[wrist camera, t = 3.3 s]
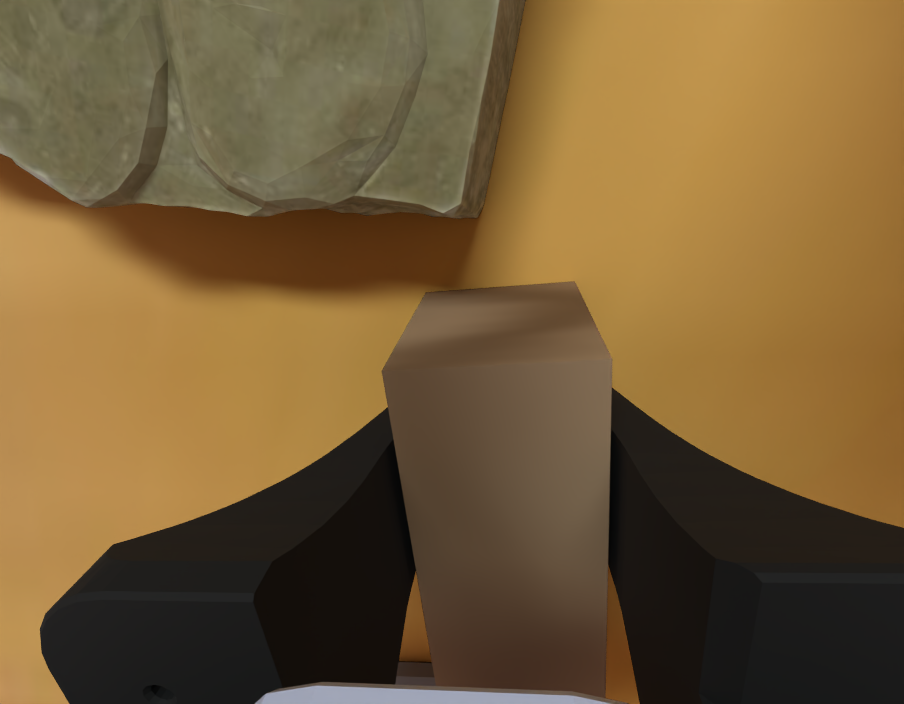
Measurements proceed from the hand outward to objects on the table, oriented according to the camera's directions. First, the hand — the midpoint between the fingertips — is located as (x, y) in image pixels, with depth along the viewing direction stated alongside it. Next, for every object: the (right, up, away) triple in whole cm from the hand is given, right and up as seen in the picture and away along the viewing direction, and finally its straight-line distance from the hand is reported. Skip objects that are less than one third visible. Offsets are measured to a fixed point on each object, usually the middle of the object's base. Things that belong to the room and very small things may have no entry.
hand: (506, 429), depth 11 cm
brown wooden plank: (0, -2, +2) cm, 3 cm away
